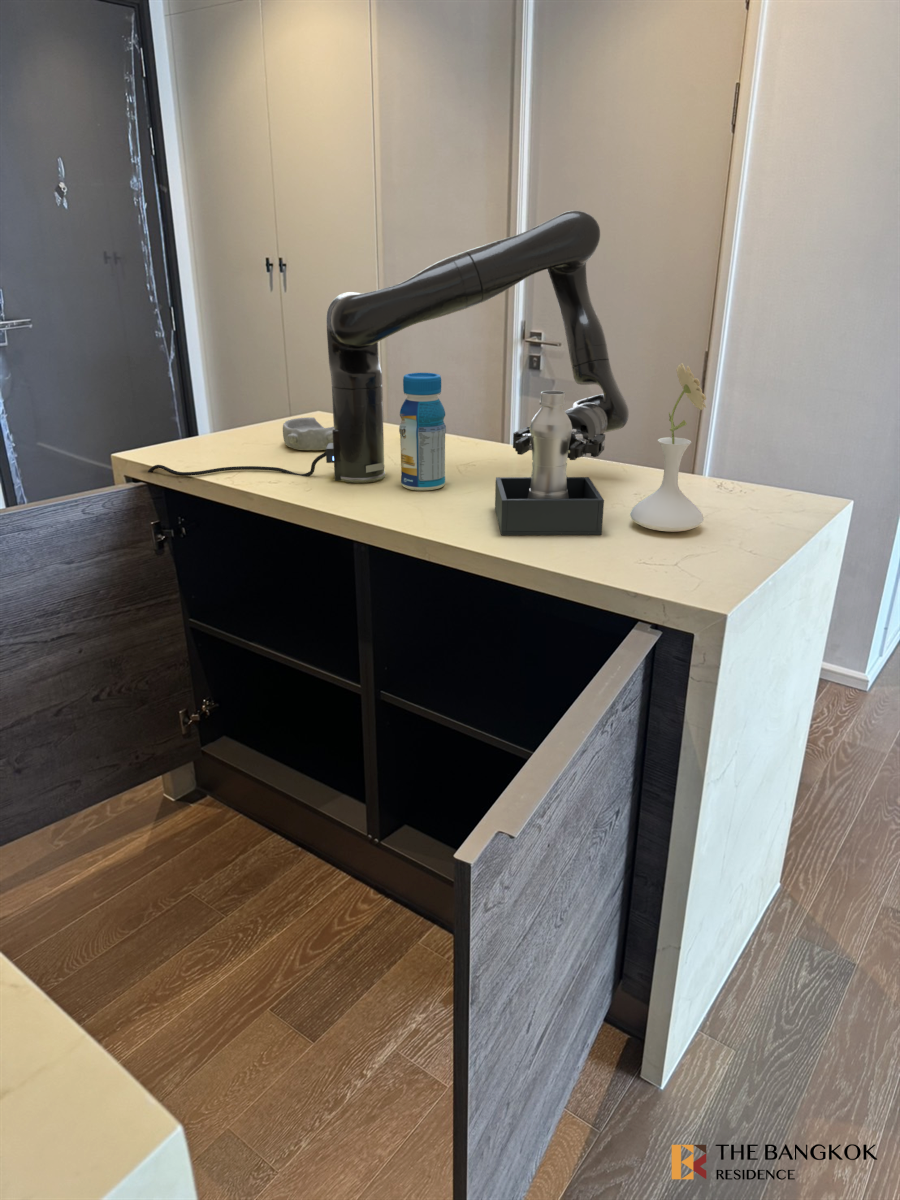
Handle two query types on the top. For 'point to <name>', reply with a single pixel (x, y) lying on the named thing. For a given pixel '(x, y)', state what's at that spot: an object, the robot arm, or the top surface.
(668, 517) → the flower in vase
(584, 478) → the black open rectangular box
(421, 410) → the beverage bottle
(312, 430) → the dish
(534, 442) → the plastic bottle
